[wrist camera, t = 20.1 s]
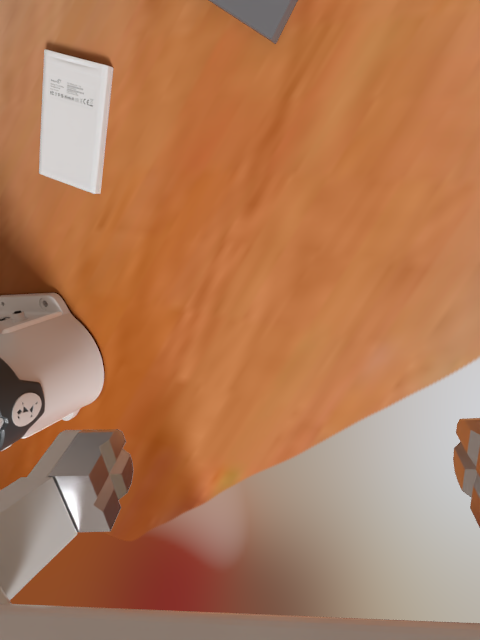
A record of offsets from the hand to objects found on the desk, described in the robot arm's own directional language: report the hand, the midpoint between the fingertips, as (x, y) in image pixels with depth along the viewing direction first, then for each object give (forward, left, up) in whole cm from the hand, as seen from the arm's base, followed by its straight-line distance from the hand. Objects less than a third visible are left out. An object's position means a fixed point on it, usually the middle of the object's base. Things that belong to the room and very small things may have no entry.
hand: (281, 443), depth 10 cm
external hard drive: (-33, +10, -30) cm, 46 cm away
